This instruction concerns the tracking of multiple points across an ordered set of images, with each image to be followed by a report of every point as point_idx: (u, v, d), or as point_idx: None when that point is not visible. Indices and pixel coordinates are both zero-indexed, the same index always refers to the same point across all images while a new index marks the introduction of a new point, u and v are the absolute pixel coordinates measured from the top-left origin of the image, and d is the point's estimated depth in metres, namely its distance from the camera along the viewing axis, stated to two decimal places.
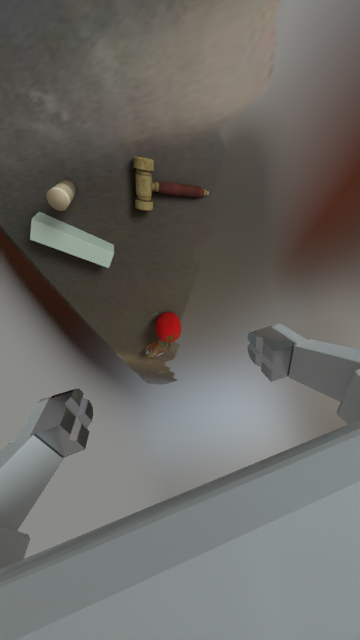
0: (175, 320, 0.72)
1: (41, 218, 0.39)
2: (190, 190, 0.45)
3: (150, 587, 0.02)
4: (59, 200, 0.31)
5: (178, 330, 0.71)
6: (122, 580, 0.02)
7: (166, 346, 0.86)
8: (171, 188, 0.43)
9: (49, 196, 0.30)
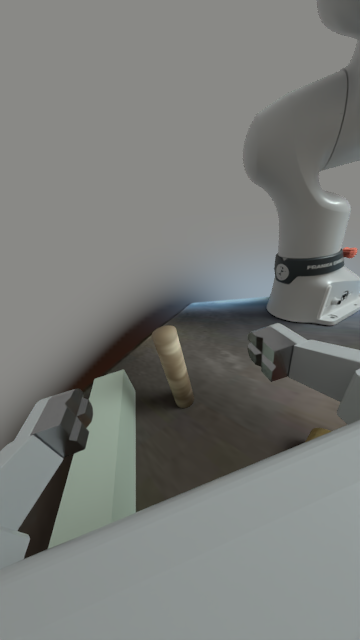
0: None
1: (127, 383, 0.29)
2: None
3: (150, 587, 0.02)
4: (165, 333, 0.21)
5: None
6: (122, 580, 0.02)
7: None
8: None
9: (162, 327, 0.22)
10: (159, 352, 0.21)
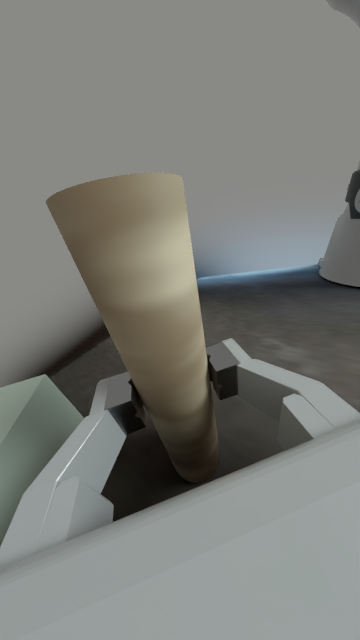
0: None
1: (55, 408, 0.12)
2: None
3: (150, 587, 0.02)
4: None
5: None
6: (122, 580, 0.02)
7: None
8: None
9: None
10: (95, 298, 0.04)
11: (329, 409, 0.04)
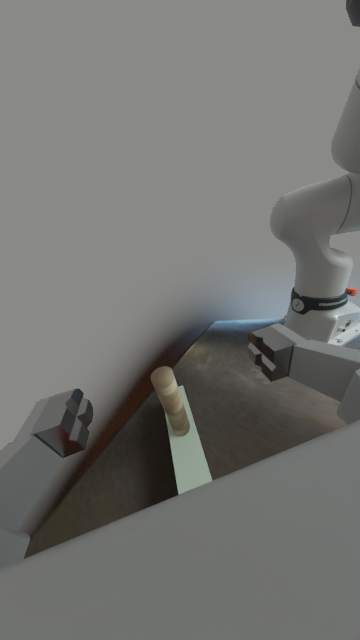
0: None
1: None
2: None
3: (150, 587, 0.02)
4: (163, 376, 0.23)
5: None
6: (122, 580, 0.02)
7: None
8: None
9: (160, 369, 0.25)
10: (157, 392, 0.24)
11: None
